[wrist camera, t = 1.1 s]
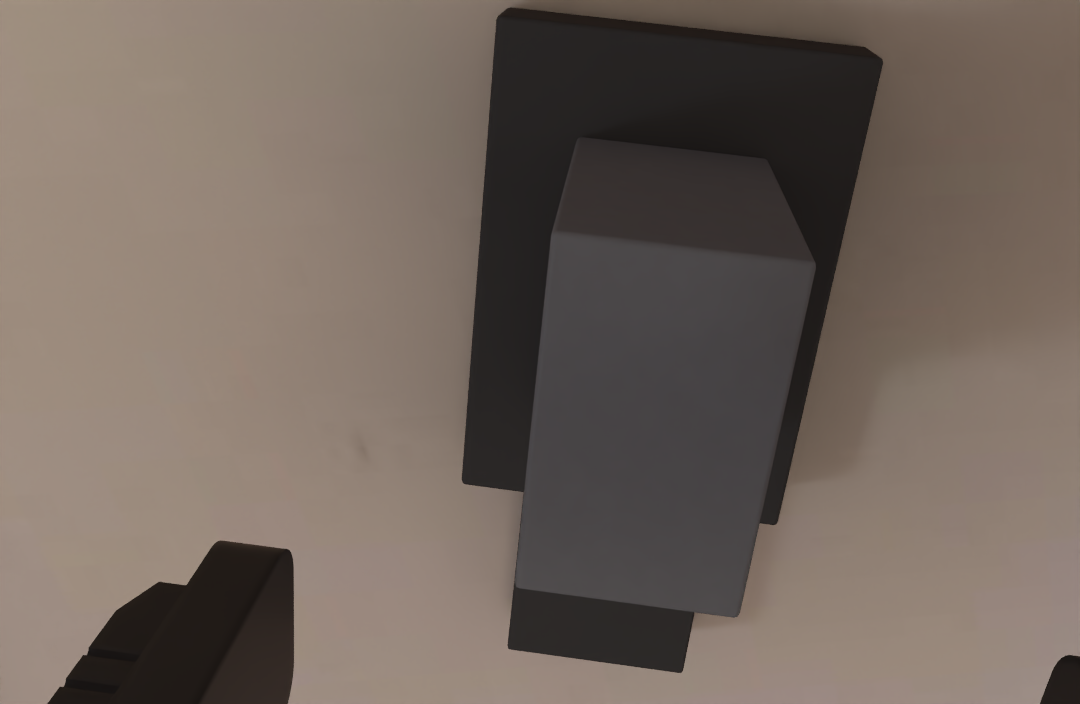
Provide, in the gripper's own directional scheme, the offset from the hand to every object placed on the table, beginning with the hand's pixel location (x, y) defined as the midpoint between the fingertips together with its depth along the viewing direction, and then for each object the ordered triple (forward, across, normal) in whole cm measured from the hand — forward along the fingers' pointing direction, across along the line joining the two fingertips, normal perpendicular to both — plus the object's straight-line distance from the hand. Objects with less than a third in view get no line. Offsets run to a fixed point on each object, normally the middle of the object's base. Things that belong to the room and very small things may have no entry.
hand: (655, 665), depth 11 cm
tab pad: (+12, 0, +2) cm, 12 cm away
